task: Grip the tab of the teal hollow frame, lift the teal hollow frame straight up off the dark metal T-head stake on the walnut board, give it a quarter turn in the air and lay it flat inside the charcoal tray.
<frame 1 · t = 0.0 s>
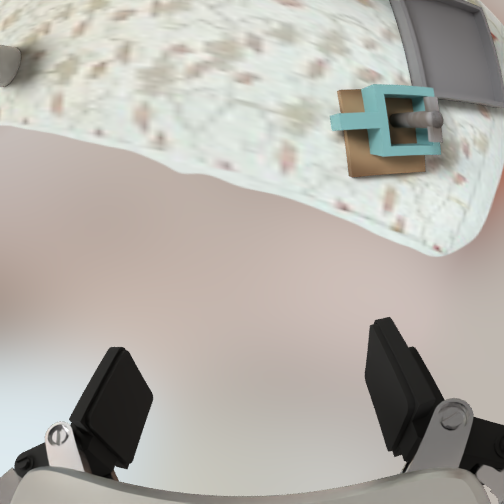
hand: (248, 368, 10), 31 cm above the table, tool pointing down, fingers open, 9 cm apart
teal hollow frame: (395, 120, 32), point 1 cm above the table, touching stake board
stake board: (382, 131, 34), on the table
cup: (8, 67, 29), on the table
tray: (449, 46, 27), on the table
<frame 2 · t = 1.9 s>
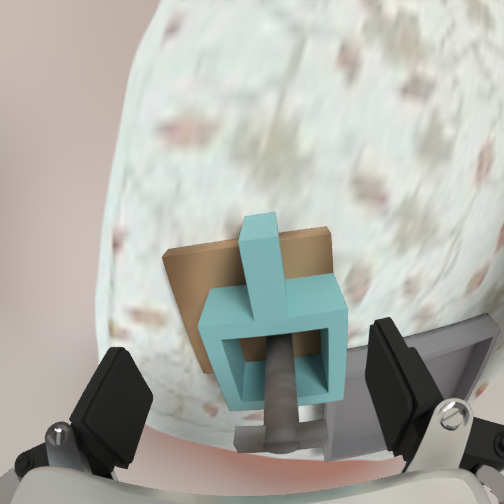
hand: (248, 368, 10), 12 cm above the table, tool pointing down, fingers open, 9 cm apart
teal hollow frame: (278, 330, 22), point 1 cm above the table, touching stake board
stake board: (257, 306, 23), on the table
tray: (401, 393, 28), on the table
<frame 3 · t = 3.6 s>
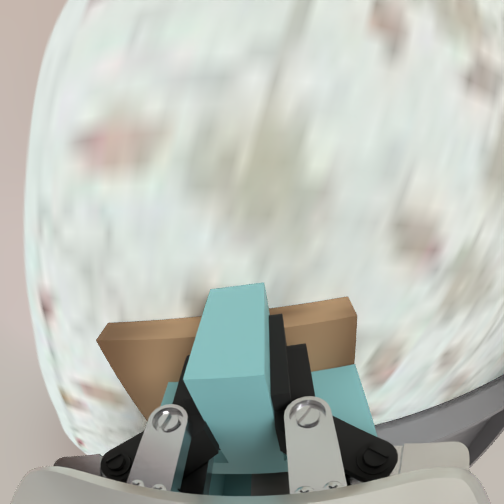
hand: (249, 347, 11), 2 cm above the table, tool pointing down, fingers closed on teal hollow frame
teal hollow frame: (270, 426, 14), point 2 cm above the table, touching gripper
stake board: (241, 396, 15), on the table
tray: (416, 454, 20), on the table
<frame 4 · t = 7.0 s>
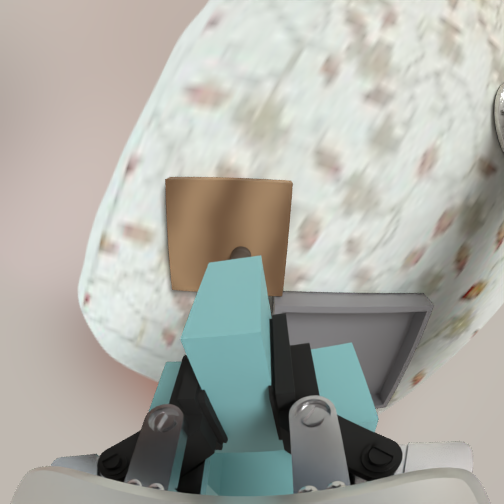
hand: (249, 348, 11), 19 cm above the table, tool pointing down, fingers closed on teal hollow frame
teal hollow frame: (268, 410, 14), point 18 cm above the table, touching gripper
stake board: (228, 235, 30), on the table
tray: (339, 354, 36), on the table
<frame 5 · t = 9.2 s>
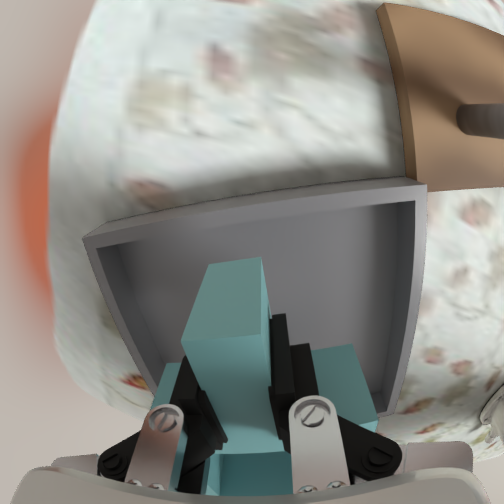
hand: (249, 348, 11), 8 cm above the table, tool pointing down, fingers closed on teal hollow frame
teal hollow frame: (268, 411, 14), point 7 cm above the table, touching gripper
stake board: (466, 100, 13), on the table
tray: (271, 330, 20), on the table
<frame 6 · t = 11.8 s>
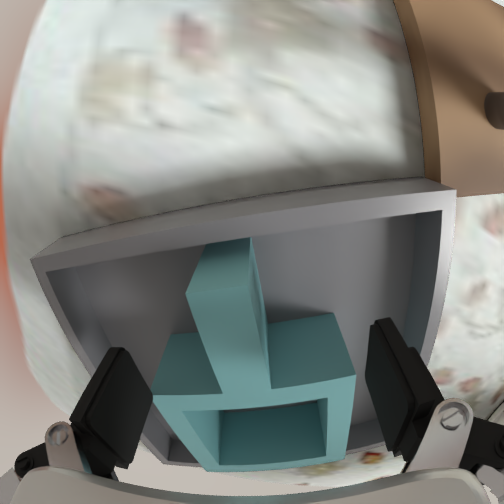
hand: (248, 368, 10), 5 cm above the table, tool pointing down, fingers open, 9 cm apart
teal hollow frame: (262, 380, 17), point 1 cm above the table, touching tray
stake board: (490, 88, 10), on the table
tray: (259, 360, 17), on the table
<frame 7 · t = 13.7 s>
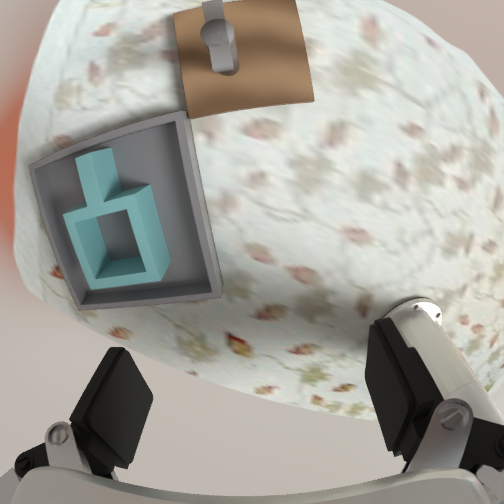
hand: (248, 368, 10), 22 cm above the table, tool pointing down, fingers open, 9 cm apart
teal hollow frame: (125, 231, 30), point 1 cm above the table, touching tray
stake board: (242, 54, 23), on the table
tray: (124, 219, 30), on the table
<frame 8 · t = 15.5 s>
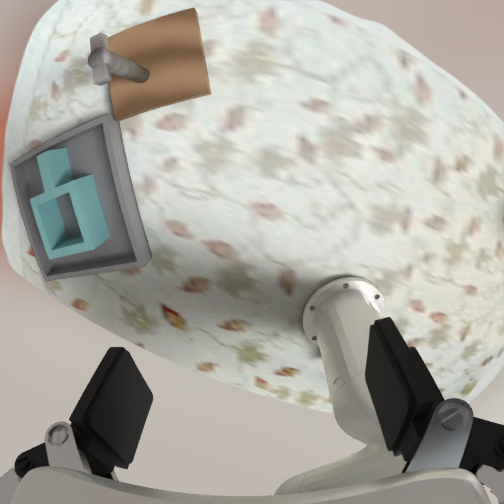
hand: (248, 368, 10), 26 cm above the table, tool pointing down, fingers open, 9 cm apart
teal hollow frame: (77, 213, 35), point 1 cm above the table, touching tray
stake board: (156, 63, 28), on the table
tray: (76, 203, 35), on the table
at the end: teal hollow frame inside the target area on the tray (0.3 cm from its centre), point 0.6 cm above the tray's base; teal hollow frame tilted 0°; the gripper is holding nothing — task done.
